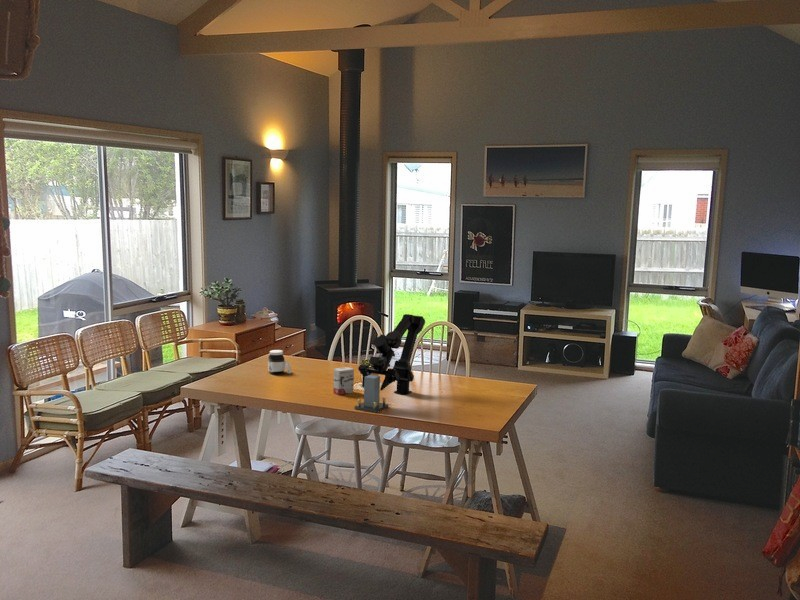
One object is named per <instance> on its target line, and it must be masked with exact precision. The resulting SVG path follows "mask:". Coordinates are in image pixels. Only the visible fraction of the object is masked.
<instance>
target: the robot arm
mask: <svg viewBox="0 0 800 600" xmlns="http://www.w3.org/2000/svg"><path fill="white" fill-rule="evenodd" d="M425 324H426V319H425V318H424V316H423V315H414V314H408V313H406V314H403V315H402V318H401V319H400V321H399V323H398V324H397V325H396V326H395V328H394V329H393V330H392V331H389V332H388V333H387V334H386V335H385V334H382V333H381V334H380V335H378V336H376V337H375V338H374V339H373V345H374V347H375V350H376V351H377V352H378V353H379V355H378V356H370V357H369V360H368V364H371V367H372V368H370V366H369V365H368V364H362V363H361V364H359V365H358V367H357V369H358V371H359V373H360V374H361V376H362V379H361V381H362V382H361V383H362V384H361V387H362V388H363V389H364V377H366V376H368V375H372V374H373V375H374V374H375V375H380V376H384V379H383V381H382V384H380V392H381V391H383V390H384V389H386V387H388V386H390V384H392V383H395V382H396V390H395V391H393V393H394V394H400V395H404V396H405V395H408V394H411V393H412V392H413V391H412V390H410V382H413V381H414V379H415V378H414V377H415V375H414V374H413V372H412V365H411V359H412V355H413V352H414V349H415V348H414V347H415V344H416V341H417V337H418V335H419V334H420V333H421V332H422V330H423V329H424V326H425ZM406 332H407V333H406ZM405 333H406V338H405V340H404V344H403V346H402V347H403V348H402V351H401V354H400V358H399V359H398V360H395V361H394V364H393V368H390V367H391V364H390V363H391V361H392V358H395V356H396V354H395V351H394V350H393V349H395V350H397V349H399V348H400V346H401V345H402V338H403V336H404V335H405Z"/></svg>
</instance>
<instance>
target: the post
mask: <svg viewBox="0 0 800 600" xmlns="http://www.w3.org/2000/svg"><path fill="white" fill-rule="evenodd" d="M380 388H381V375H380V376H379V375H376V374H375V375H374V374H371V375H368V376H366V377H364V388H363V402H364V406H367V407H373V408H374V402H377V406H378V405H379V403H380V396H381V395H380V394H381V390H380Z"/></svg>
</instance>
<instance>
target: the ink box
mask: <svg viewBox="0 0 800 600" xmlns="http://www.w3.org/2000/svg"><path fill="white" fill-rule="evenodd" d="M354 377H355V369H354V368H352V367H349V366H345V367H336V368H334V369H333V393H334V394H336V395H338V396H341V394H342V395H348V394H354V383H355V382H354V380H355V378H354ZM347 393H348V394H347Z"/></svg>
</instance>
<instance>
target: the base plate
mask: <svg viewBox="0 0 800 600" xmlns="http://www.w3.org/2000/svg"><path fill="white" fill-rule="evenodd" d="M361 400H362V399H360V398H358V399H357V405H354V410H357V411H362V410H363V411H364V412H367V411H370V412H369V413H373V412H376V413H375V414H377V412H378V411H379V412H381V411H383V410H385V409H387V408H389V404H388V403H386V397H382V402H379V405H378V406H377V402H374V408H373V407H367V406H364V401H363V402H362V403H361ZM382 409H383V410H382ZM380 410H381V411H380ZM379 412H378V413H379Z"/></svg>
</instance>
